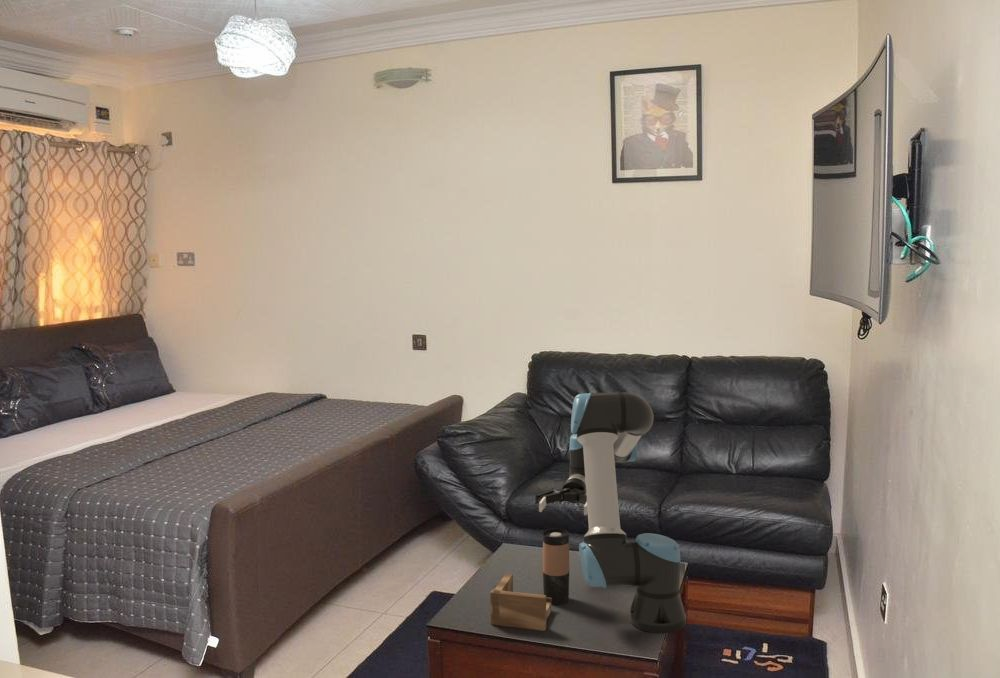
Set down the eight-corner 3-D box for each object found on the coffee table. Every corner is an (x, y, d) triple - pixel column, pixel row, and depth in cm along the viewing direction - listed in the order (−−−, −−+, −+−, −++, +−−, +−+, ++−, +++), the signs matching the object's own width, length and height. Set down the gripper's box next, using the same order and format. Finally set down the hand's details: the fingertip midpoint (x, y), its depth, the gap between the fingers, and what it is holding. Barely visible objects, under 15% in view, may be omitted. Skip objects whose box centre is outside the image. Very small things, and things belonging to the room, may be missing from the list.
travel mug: (574, 597, 243) (573, 531, 240) (561, 607, 236) (561, 539, 234) (550, 592, 247) (550, 526, 245) (538, 601, 240) (537, 534, 238)
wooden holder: (504, 603, 239) (504, 573, 238) (555, 608, 235) (555, 578, 234) (490, 624, 226) (490, 592, 225) (544, 630, 222) (544, 598, 221)
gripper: (614, 503, 265) (604, 524, 245) (537, 497, 272) (521, 518, 252) (614, 480, 265) (604, 499, 244) (537, 475, 271) (521, 494, 251)
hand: (562, 509), depth 248 cm, fingers open, 13 cm apart
